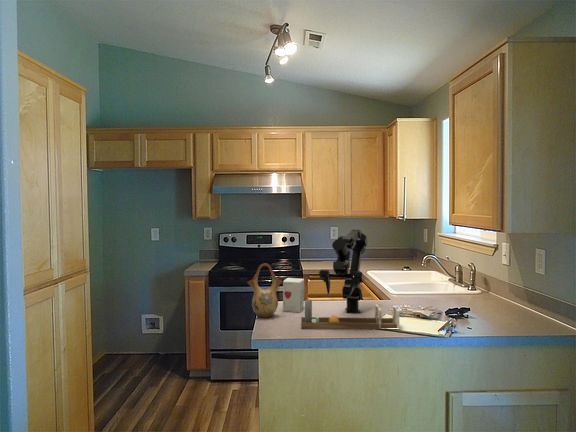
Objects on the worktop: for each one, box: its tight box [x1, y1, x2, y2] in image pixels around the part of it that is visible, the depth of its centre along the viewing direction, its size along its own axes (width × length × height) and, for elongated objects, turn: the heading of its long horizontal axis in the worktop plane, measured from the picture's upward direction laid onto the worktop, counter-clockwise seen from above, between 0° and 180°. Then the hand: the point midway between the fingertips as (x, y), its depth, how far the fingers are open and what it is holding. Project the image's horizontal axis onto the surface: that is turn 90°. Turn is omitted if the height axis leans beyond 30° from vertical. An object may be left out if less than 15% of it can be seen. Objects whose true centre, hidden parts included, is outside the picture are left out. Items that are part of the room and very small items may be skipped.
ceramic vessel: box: [246, 262, 283, 318], centre depth 180 cm, size 16×9×25 cm, turn 95°
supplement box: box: [282, 277, 305, 313], centre depth 191 cm, size 9×9×15 cm
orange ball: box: [329, 315, 339, 323], centre depth 166 cm, size 4×4×4 cm
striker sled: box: [304, 298, 320, 322], centre depth 166 cm, size 6×6×11 cm
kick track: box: [300, 303, 401, 331], centre depth 166 cm, size 8×41×8 cm, turn 88°
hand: (338, 294), depth 163 cm, fingers open, 9 cm apart
